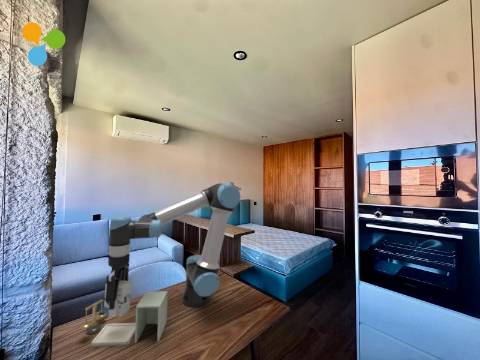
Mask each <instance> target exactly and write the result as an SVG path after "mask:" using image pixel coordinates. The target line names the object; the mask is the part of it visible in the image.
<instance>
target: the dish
mask: <svg viewBox="0 0 480 360" xmlns="http://www.w3.org/2000/svg"><path fill="white" fill-rule="evenodd" d="M134 336H135V322H129V323H128V322H126V323H124V322H123V323H122V322H121V323H120V322H119V323H106V324H105V325H104V326H103V328H101V329H100V332H99V333H98V334H97V335H96V336H95V338H94V339H93V340H92V341H91V342H90V347H91V348H92V347H112V346H113V347H114V346H128V345H129V344H130V343H131V341H132V339H133V337H134Z"/></svg>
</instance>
